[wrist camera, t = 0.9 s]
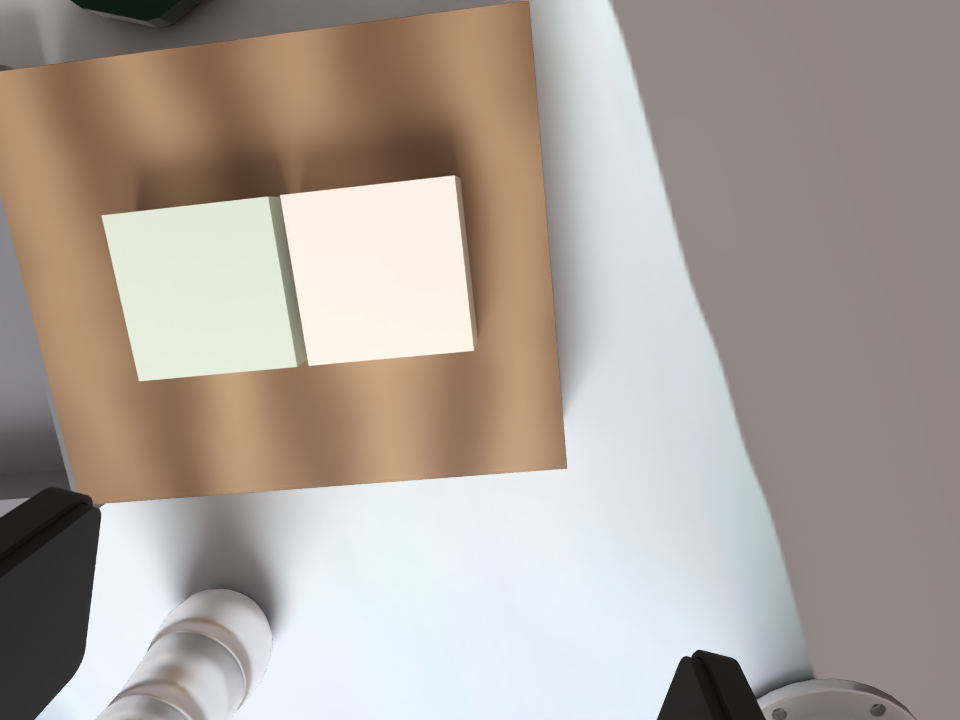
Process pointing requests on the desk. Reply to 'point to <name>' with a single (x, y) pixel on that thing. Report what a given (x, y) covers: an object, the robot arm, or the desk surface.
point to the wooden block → (270, 173)
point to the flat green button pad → (140, 10)
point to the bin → (25, 394)
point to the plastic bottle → (199, 661)
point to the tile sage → (207, 288)
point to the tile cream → (382, 270)
